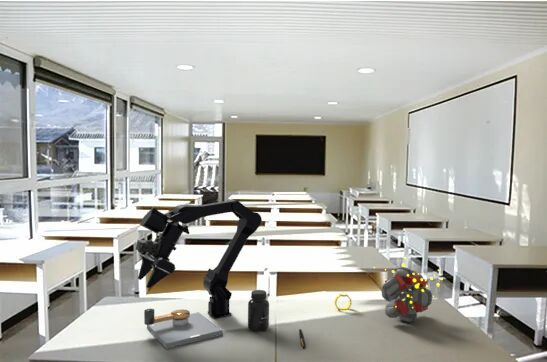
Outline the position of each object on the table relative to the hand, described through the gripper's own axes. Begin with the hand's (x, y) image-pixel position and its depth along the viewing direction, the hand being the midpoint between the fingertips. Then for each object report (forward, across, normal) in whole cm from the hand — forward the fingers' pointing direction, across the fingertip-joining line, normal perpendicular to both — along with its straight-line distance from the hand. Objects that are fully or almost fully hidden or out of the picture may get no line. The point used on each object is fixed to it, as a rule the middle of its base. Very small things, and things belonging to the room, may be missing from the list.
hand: (143, 283), depth 135 cm
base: (+7, +10, +16) cm, 20 cm away
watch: (-23, +22, +64) cm, 71 cm away
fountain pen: (-8, +34, +40) cm, 53 cm away
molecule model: (-29, +42, +72) cm, 88 cm away
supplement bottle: (-4, +20, +34) cm, 40 cm away
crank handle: (+6, +6, +10) cm, 14 cm away
